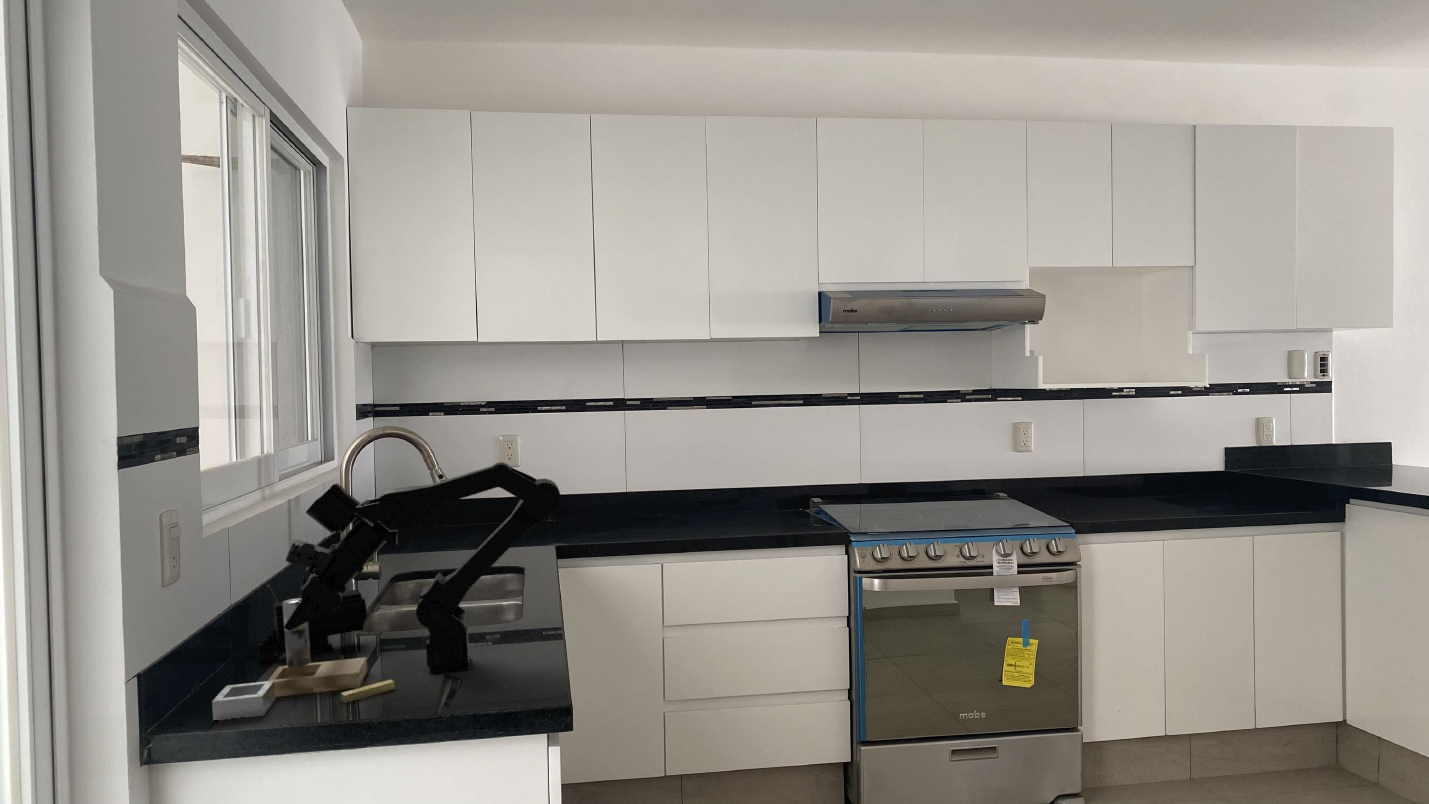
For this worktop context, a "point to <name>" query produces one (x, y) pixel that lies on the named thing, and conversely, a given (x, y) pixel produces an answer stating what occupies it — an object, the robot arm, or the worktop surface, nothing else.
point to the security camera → (318, 626)
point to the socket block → (244, 700)
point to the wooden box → (319, 677)
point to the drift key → (367, 691)
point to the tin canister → (296, 638)
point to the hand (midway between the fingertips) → (287, 625)
